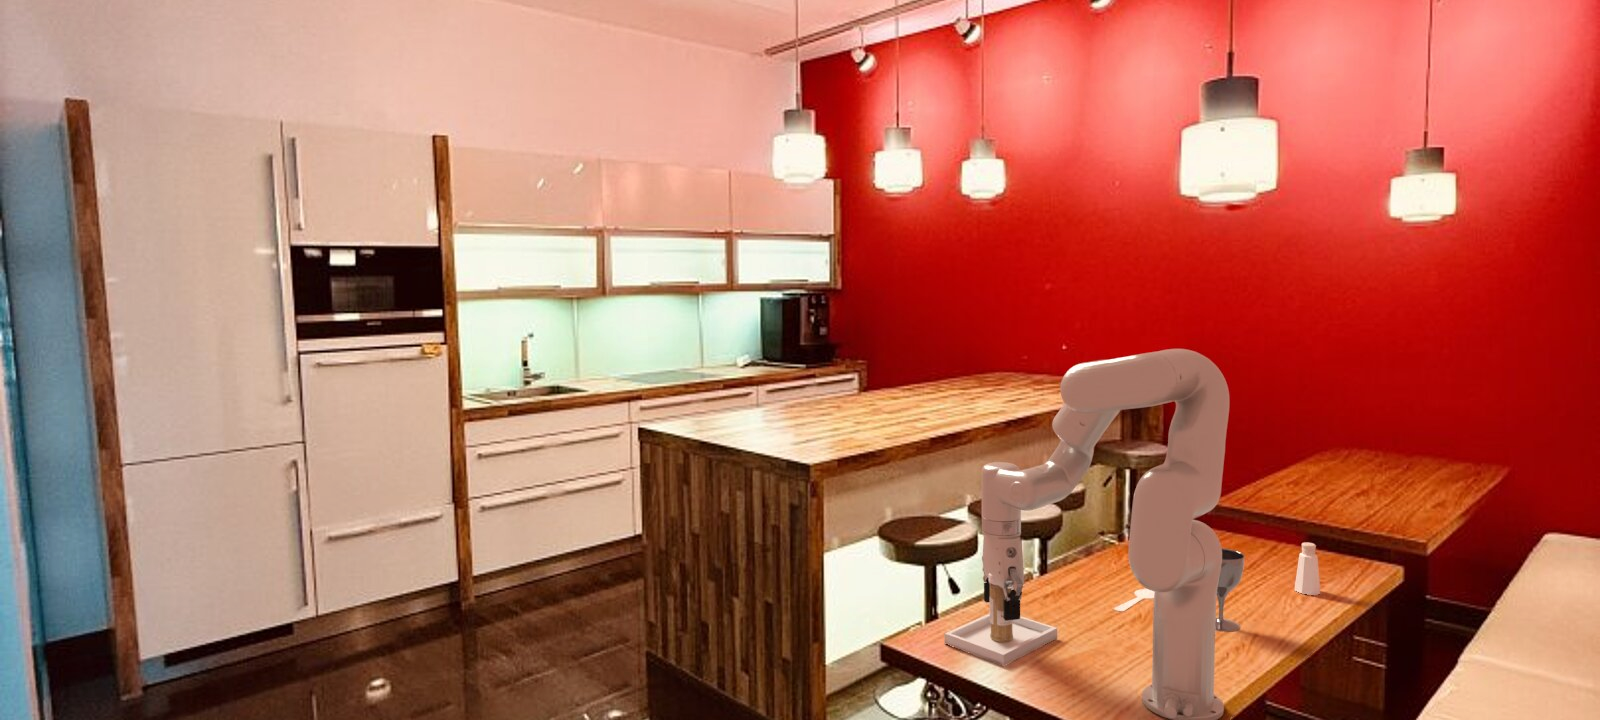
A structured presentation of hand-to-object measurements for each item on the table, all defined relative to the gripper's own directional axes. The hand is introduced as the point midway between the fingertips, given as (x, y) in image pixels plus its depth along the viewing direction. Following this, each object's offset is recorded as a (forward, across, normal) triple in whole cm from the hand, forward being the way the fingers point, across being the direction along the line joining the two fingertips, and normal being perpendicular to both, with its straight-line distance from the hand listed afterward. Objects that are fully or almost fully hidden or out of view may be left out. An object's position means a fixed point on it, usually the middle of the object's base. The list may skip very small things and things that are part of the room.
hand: (1001, 610), depth 176 cm
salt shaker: (+7, +10, -77) cm, 78 cm away
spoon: (+7, +14, -38) cm, 41 cm away
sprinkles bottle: (+6, 0, 0) cm, 6 cm away
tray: (+6, 0, 0) cm, 6 cm away
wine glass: (+7, -3, -47) cm, 47 cm away
